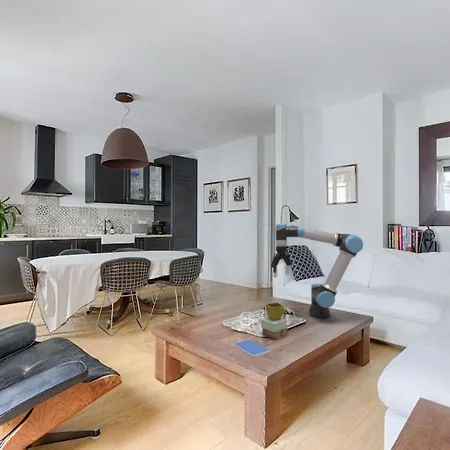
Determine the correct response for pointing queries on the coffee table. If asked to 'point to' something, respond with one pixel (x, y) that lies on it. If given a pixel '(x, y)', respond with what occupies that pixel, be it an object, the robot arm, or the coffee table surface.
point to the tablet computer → (252, 348)
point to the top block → (273, 324)
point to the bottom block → (275, 333)
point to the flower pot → (274, 310)
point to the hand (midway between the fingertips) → (281, 276)
